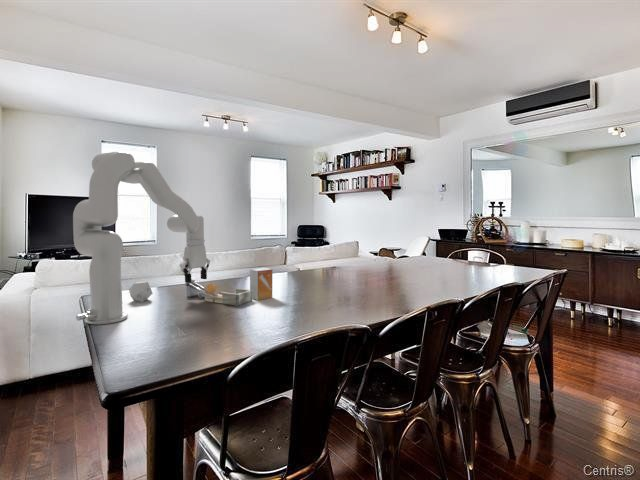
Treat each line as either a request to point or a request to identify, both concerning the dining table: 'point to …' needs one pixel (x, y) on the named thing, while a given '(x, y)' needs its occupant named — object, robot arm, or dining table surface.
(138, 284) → the die
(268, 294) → the small box
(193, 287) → the ramp
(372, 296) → the dining table surface
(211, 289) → the ball
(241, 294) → the lane
